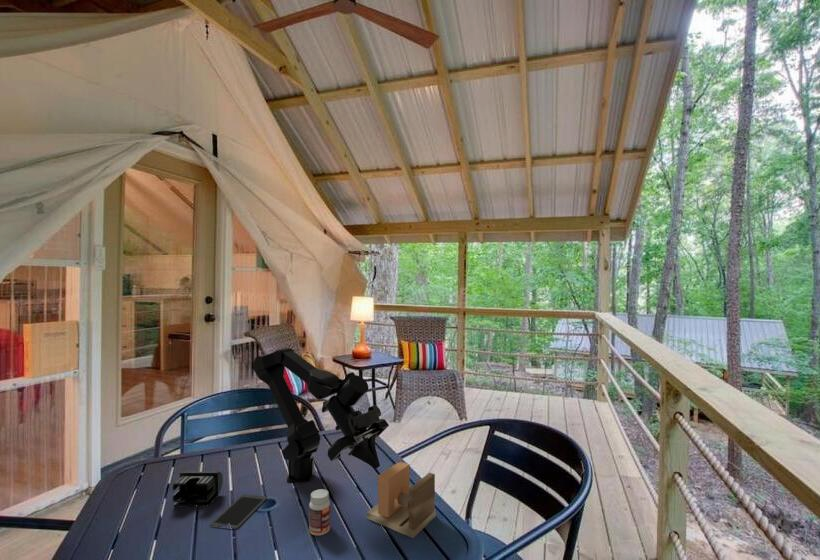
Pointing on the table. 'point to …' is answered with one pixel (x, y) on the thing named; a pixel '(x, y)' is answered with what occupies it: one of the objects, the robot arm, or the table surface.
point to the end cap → (197, 488)
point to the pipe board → (411, 508)
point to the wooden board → (392, 488)
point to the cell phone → (239, 511)
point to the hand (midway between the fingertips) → (378, 467)
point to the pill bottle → (319, 512)
